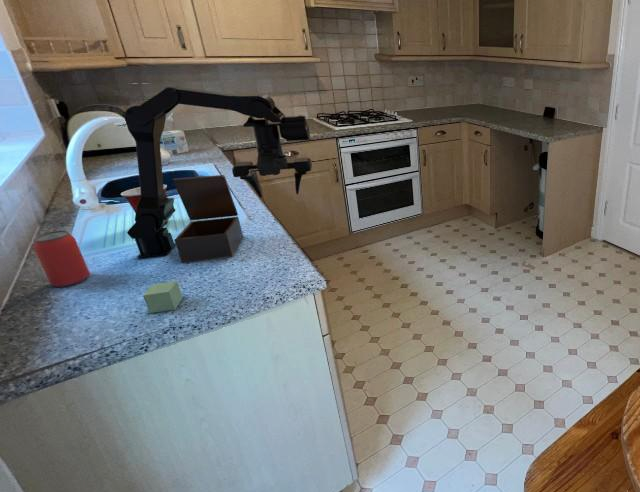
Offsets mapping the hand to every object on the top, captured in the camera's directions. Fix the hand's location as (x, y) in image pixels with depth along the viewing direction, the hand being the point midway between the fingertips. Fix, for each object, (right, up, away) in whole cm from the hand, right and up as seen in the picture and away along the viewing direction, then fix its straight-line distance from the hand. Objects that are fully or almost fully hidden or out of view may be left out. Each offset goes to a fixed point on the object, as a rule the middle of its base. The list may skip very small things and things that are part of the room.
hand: (279, 195), depth 115 cm
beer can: (-39, -21, -19) cm, 48 cm away
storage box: (-16, -15, -3) cm, 22 cm away
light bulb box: (-107, +25, +92) cm, 143 cm away
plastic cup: (-45, -9, +11) cm, 48 cm away
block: (-9, -25, -28) cm, 38 cm away
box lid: (-17, -1, -5) cm, 18 cm away
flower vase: (-98, +17, +73) cm, 123 cm away
